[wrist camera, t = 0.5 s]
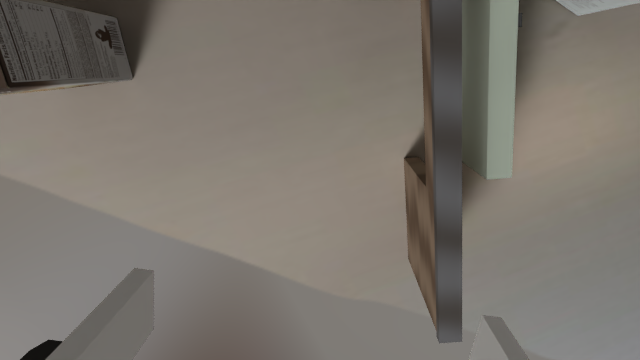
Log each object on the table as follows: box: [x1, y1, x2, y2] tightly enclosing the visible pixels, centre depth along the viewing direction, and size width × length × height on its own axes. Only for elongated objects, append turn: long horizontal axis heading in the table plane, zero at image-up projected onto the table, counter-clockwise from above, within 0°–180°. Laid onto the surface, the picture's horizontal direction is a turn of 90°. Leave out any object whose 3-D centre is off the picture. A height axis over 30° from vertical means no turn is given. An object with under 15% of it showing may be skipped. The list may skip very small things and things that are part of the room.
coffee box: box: [0, 0, 132, 95], centre depth 31 cm, size 9×6×16 cm
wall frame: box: [404, 0, 462, 343], centre depth 32 cm, size 34×2×14 cm, turn 6°
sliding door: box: [462, 0, 522, 180], centre depth 33 cm, size 16×3×9 cm, turn 6°
